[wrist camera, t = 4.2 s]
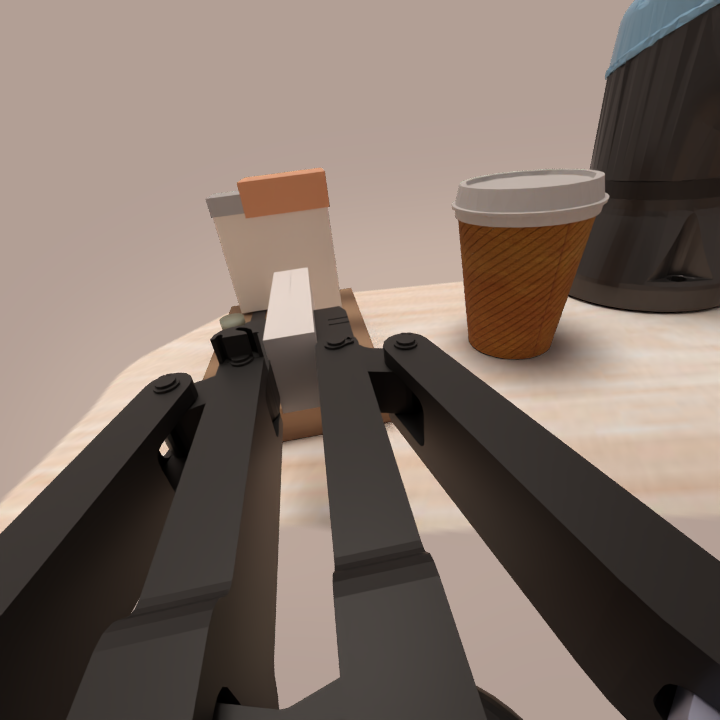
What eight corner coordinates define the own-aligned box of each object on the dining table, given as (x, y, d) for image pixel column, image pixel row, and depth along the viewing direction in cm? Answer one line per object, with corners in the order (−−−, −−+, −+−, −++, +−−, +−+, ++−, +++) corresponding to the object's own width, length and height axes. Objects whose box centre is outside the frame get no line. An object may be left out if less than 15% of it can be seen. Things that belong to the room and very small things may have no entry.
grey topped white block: (275, 308, 34) (246, 193, 29) (240, 314, 33) (205, 198, 28) (276, 296, 36) (251, 189, 31) (244, 301, 36) (213, 194, 31)
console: (392, 421, 23) (388, 375, 21) (199, 456, 22) (178, 412, 20) (353, 310, 38) (349, 278, 36) (238, 329, 37) (228, 297, 36)
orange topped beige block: (352, 369, 23) (324, 171, 18) (287, 380, 23) (236, 182, 17) (346, 345, 26) (320, 167, 20) (288, 355, 26) (244, 177, 20)
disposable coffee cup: (448, 315, 35) (451, 176, 29) (557, 314, 33) (586, 164, 27) (448, 370, 27) (452, 195, 21) (591, 373, 25) (644, 180, 19)
